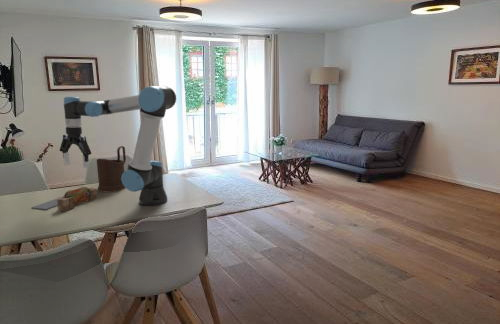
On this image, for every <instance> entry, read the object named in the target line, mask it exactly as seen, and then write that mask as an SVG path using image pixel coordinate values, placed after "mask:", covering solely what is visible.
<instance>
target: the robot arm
mask: <svg viewBox="0 0 500 324" xmlns="http://www.w3.org/2000/svg"><path fill="white" fill-rule="evenodd" d="M176 103H177V95H176V92H175V91H174V89H173V88H171V87H169V86H165V85H162V86H160V85H150V86H146V87H144V88H143V89H141V90H140V92H139V94H136V95H130V96H124V97H118V98H111V99H106V100H91V101H90V100H89V101H87V100H85V101H84V100H83V101H82V100H81V98H80V97H79V96H65V97H63V109H64V121H65V134H62V141H61V143H60V147H59V152H61V153H62V157H63V158H62V159H63V162H64V163H63V164H64V166H67V165H70V152H69V149H70V148H71V146H72V145H76V146H77V147H78V149H79V150H80V152H81V153H82V168H83V169H86V168H89V161H90V160H89V159H90V158H89V156H90V155H92V151H91V149H90V146H89V144H88V141H87V137H86V136H82V134H83V133H82V132H83V129H82V116H83V117H91V118H93V117H95V118H96V117H99V116H103V115H104V116H106V115H113V114H117V113H124V112H131V111H139V112H140V113H141V115H142V116H141V120H140V121H141V122H140V125H139V129H138V130H139V131H138V133H137V134H138V135H137V140H136V144H135V147H134V153H133V157H132V159H131V160H130V161H128V166H127V169H126V170H124V173H123V174H122V177H121V180H122V184H123V185H124V187H125V188H126V190H128V191H130V192H132V193H133V192H139V191H140V194H139V197H138V199H139V200H138V202H139V204H140V205H142V206H159V205H161V204H165V203H166V202H168V195H167V193H166V190H165V187H164V178H163V175H164V174H163V164H162V161H160V160H152V157H153V153H154V152H153V151H154V148H155V144H156V140H157V135H158V131H159V127H160V123H161V120H162V119H163V118H164V117H165V116H166V111H167V110H170V109H172V108H173V107H174V106H175V104H176Z"/></svg>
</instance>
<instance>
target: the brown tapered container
mask: <svg viewBox="0 0 500 324" xmlns="http://www.w3.org/2000/svg"><path fill="white" fill-rule="evenodd" d="M121 149H122V159H123V160H122V159H121V154H120V150H121ZM116 152H117V156H116V157H117V159H106V158H97V159H96V167H97V169H96V170H97V178H98V187H97V188H96V189H97V191H98V192H101V191H102V192H101V193H103V192H104V193H111V192H119V191H123V190H125V189H126V188H125V187H124V185H123V184H122V180H121V177H122V174H123V173H124V172H125V163H126V160H127V158H126V148H125V146H123V145H121V146H118V147H117V149H116ZM126 190H127V189H126Z"/></svg>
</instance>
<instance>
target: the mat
mask: <svg viewBox="0 0 500 324" xmlns="http://www.w3.org/2000/svg"><path fill="white" fill-rule="evenodd" d="M61 197H64V195H63V196H60V197H57V198H55V199H52V200H49V201H46V202H42V203H40V204H37V205H34V206H32V207H31V209H35V210H41V211H42V210H44V211H47V210H51V209H53V208H56V207H58V205H57V199H59V198H61Z"/></svg>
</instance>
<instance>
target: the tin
mask: <svg viewBox="0 0 500 324" xmlns="http://www.w3.org/2000/svg"><path fill="white" fill-rule="evenodd" d="M89 188H90V187H87V186H81V187H77V188H74V189H70V190H67V191H66V192H65V193H64V195H63V196H64V197H65V198H71V197H72V198H73V207H74V206H76V205H81V204H83V203H87V202H88V201H90V200H89V199H90V193H89V191H90V189H89Z"/></svg>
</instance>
